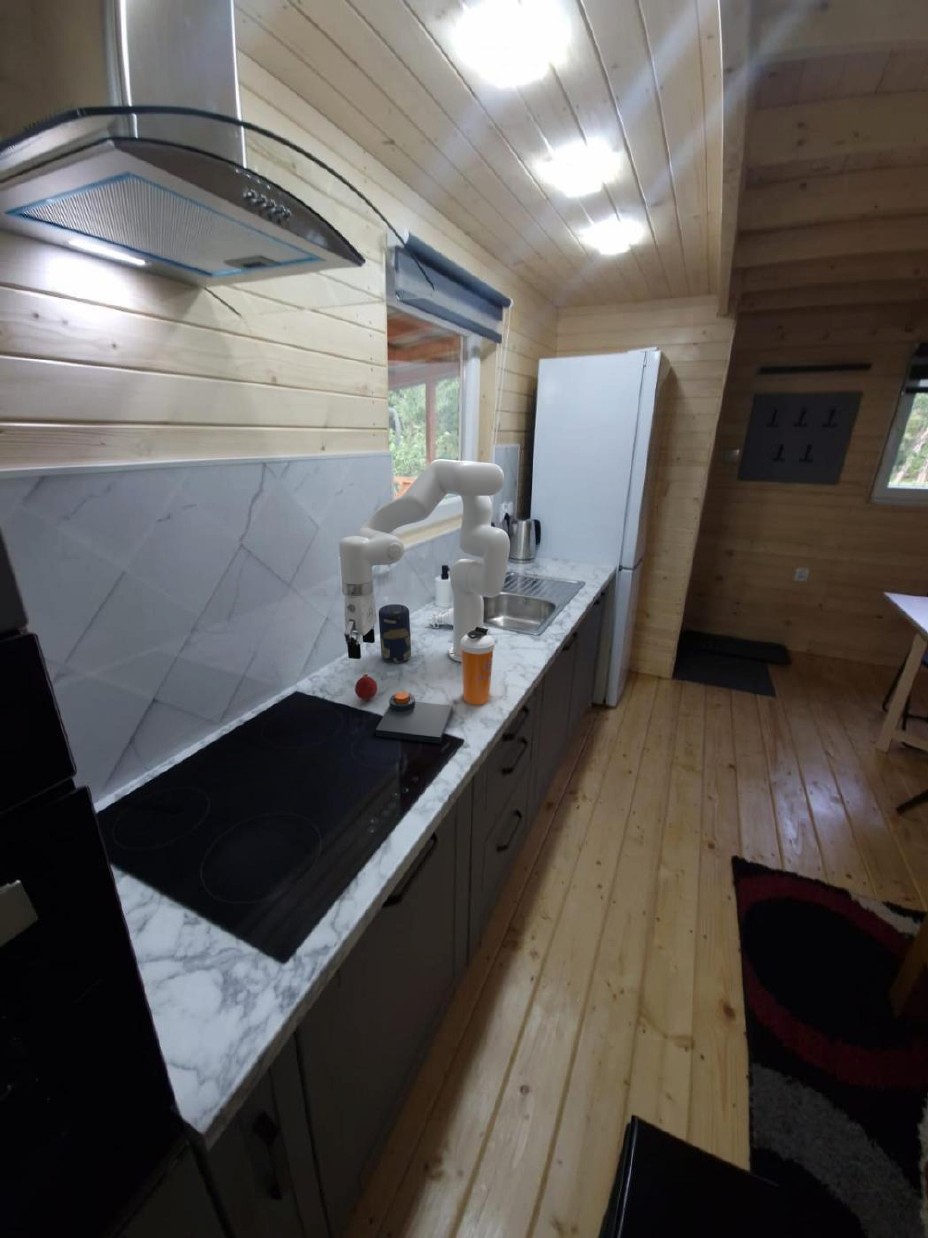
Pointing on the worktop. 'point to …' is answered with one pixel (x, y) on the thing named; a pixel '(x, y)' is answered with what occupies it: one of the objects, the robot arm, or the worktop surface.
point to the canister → (395, 633)
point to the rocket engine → (442, 618)
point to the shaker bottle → (477, 665)
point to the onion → (365, 687)
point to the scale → (415, 721)
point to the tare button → (401, 697)
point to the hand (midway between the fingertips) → (362, 650)
